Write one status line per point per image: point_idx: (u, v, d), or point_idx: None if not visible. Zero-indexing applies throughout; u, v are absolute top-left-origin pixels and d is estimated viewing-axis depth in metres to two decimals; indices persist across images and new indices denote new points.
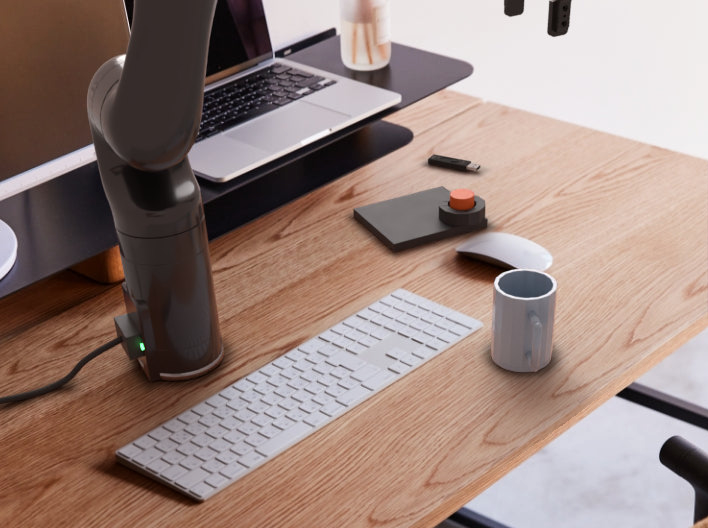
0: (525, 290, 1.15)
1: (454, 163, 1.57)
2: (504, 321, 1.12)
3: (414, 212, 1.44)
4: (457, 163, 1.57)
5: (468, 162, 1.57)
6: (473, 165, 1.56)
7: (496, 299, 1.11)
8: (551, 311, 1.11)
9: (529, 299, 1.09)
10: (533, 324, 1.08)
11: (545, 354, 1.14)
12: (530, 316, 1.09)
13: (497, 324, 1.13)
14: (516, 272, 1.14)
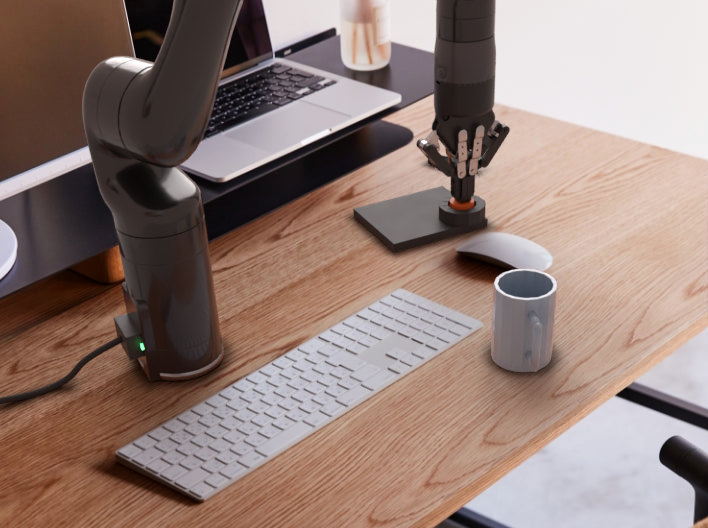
0: (525, 290, 1.15)
1: None
2: (504, 321, 1.12)
3: (414, 212, 1.44)
4: None
5: None
6: None
7: (496, 299, 1.11)
8: (551, 311, 1.11)
9: (529, 299, 1.09)
10: (533, 324, 1.08)
11: (545, 354, 1.14)
12: (530, 316, 1.09)
13: (497, 324, 1.13)
14: (516, 272, 1.14)
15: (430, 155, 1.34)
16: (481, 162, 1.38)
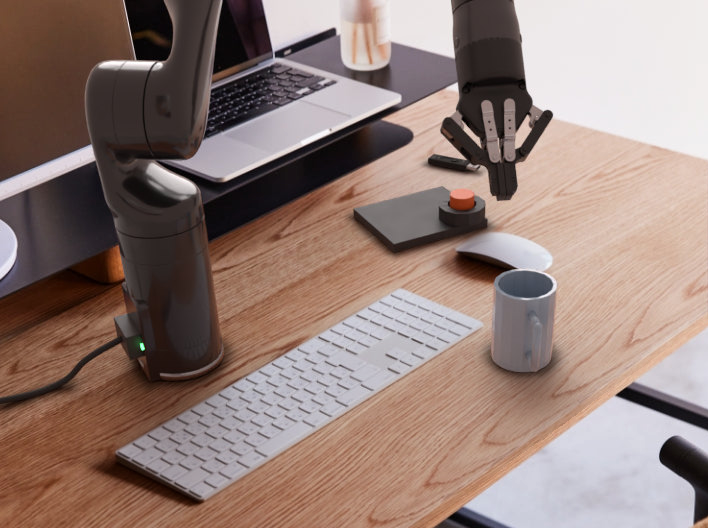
0: (525, 290, 1.15)
1: (454, 163, 1.57)
2: (504, 321, 1.12)
3: (414, 212, 1.44)
4: (457, 163, 1.57)
5: (468, 162, 1.57)
6: None
7: (496, 299, 1.11)
8: (551, 311, 1.11)
9: (529, 299, 1.09)
10: (533, 324, 1.08)
11: (545, 354, 1.14)
12: (530, 316, 1.09)
13: (497, 324, 1.13)
14: (516, 272, 1.14)
15: (449, 128, 1.17)
16: (520, 148, 1.18)
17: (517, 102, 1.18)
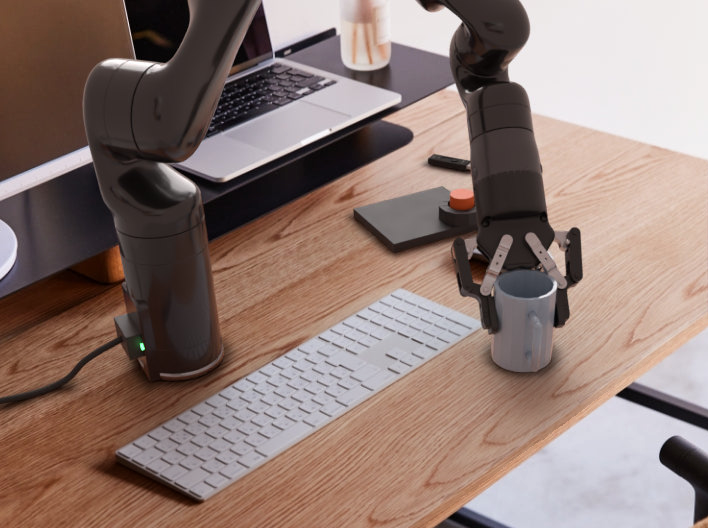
0: (525, 290, 1.15)
1: (454, 163, 1.57)
2: (504, 321, 1.12)
3: (414, 212, 1.44)
4: (457, 163, 1.57)
5: (468, 162, 1.57)
6: None
7: (496, 299, 1.11)
8: (551, 311, 1.11)
9: (529, 299, 1.09)
10: (533, 324, 1.08)
11: (545, 354, 1.14)
12: (530, 316, 1.09)
13: None
14: (516, 272, 1.14)
15: (456, 249, 1.13)
16: (572, 274, 1.13)
17: (541, 238, 1.14)
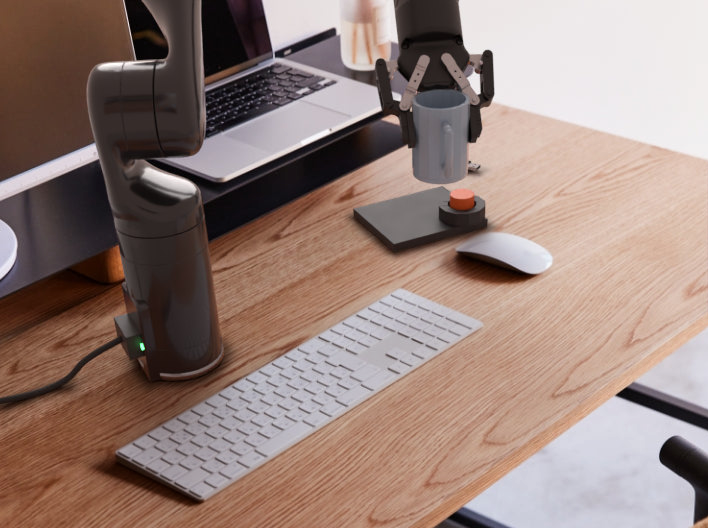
0: None
1: None
2: (421, 133, 1.21)
3: (414, 212, 1.44)
4: None
5: None
6: (473, 165, 1.56)
7: (414, 113, 1.21)
8: (464, 123, 1.21)
9: (442, 109, 1.19)
10: (445, 131, 1.18)
11: (460, 167, 1.24)
12: (443, 125, 1.19)
13: (415, 138, 1.23)
14: (434, 91, 1.24)
15: (378, 69, 1.23)
16: (484, 92, 1.23)
17: (457, 59, 1.23)
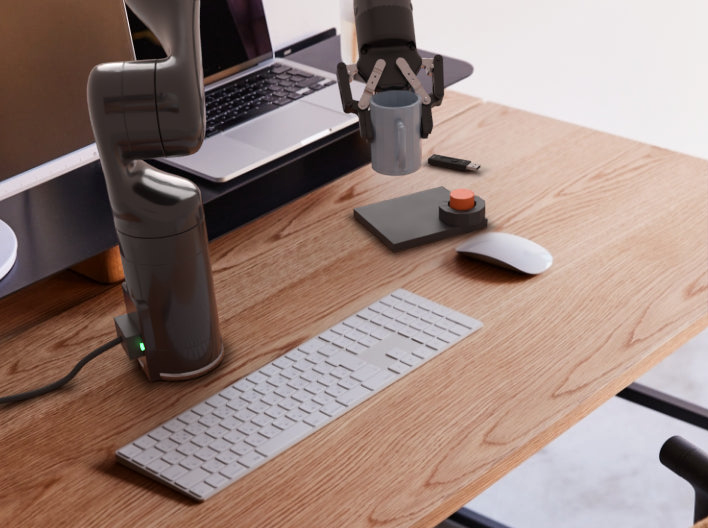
0: None
1: (454, 163, 1.57)
2: (377, 130, 1.35)
3: (414, 212, 1.44)
4: (457, 163, 1.57)
5: (468, 162, 1.57)
6: (473, 165, 1.56)
7: (371, 111, 1.34)
8: (416, 120, 1.34)
9: (396, 108, 1.32)
10: (398, 127, 1.31)
11: (414, 160, 1.37)
12: (397, 122, 1.32)
13: (373, 134, 1.36)
14: (390, 92, 1.37)
15: (339, 71, 1.36)
16: (435, 93, 1.36)
17: (410, 63, 1.36)
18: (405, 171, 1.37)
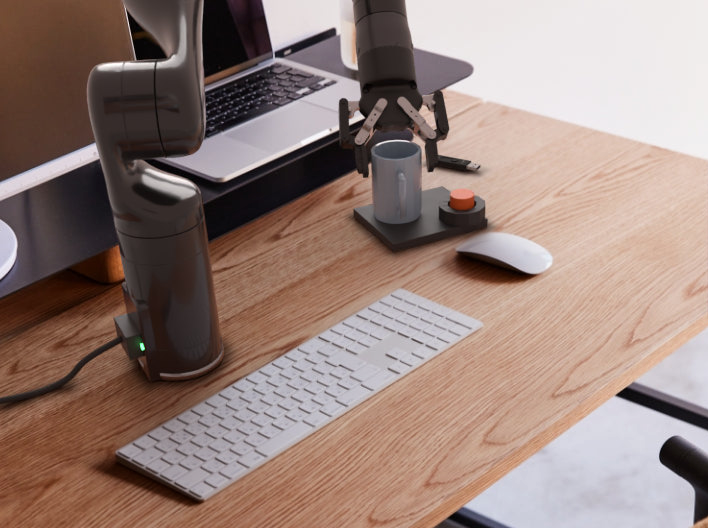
0: (399, 159, 1.42)
1: (454, 163, 1.57)
2: (379, 180, 1.39)
3: None
4: (457, 163, 1.57)
5: (468, 162, 1.57)
6: (473, 165, 1.56)
7: (372, 162, 1.38)
8: (416, 171, 1.38)
9: (396, 159, 1.36)
10: (399, 178, 1.35)
11: (414, 209, 1.41)
12: (397, 173, 1.36)
13: (374, 183, 1.40)
14: (390, 142, 1.41)
15: (340, 107, 1.39)
16: (440, 127, 1.39)
17: (412, 102, 1.39)
18: (406, 219, 1.41)
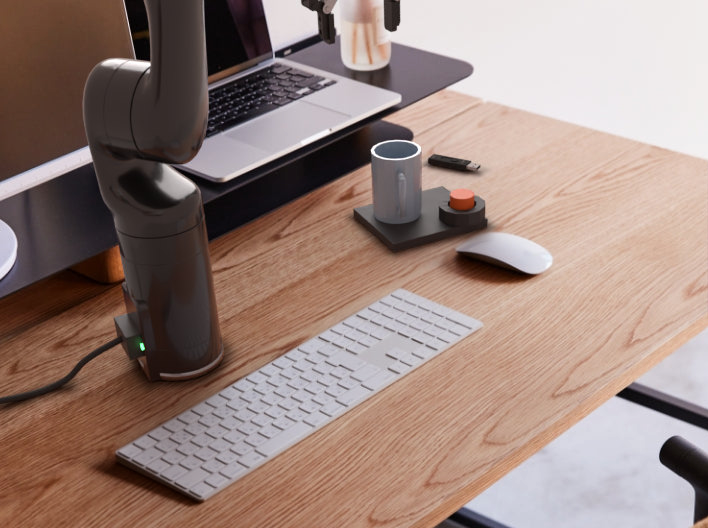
0: (399, 159, 1.42)
1: (454, 163, 1.57)
2: (379, 180, 1.39)
3: None
4: (457, 163, 1.57)
5: (468, 162, 1.57)
6: (473, 165, 1.56)
7: (372, 162, 1.38)
8: (416, 171, 1.38)
9: (396, 159, 1.36)
10: (399, 178, 1.35)
11: (414, 209, 1.41)
12: (397, 173, 1.36)
13: (374, 183, 1.40)
14: (390, 142, 1.41)
15: None
16: None
17: None
18: (406, 219, 1.41)
